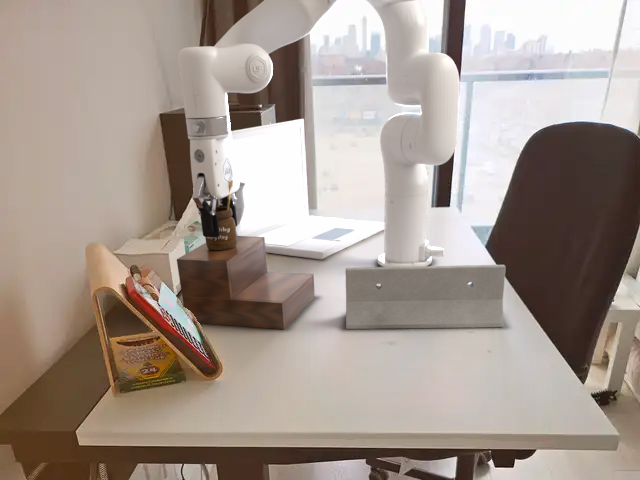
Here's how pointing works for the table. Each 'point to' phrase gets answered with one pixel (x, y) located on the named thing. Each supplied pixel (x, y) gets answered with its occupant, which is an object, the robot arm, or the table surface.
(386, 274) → the barrier
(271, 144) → the laptop
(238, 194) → the chalice
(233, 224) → the utensil holder
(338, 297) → the table surface
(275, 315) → the step shelf
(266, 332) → the table surface
